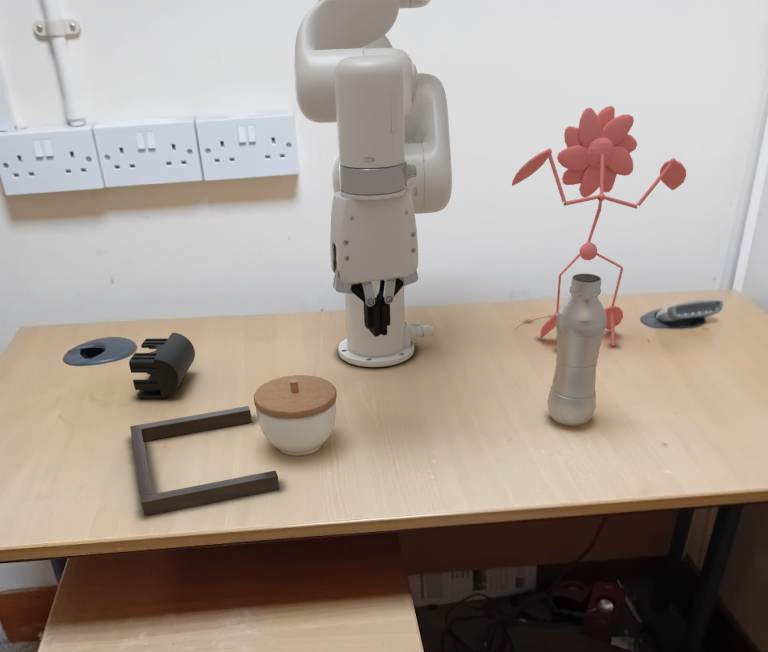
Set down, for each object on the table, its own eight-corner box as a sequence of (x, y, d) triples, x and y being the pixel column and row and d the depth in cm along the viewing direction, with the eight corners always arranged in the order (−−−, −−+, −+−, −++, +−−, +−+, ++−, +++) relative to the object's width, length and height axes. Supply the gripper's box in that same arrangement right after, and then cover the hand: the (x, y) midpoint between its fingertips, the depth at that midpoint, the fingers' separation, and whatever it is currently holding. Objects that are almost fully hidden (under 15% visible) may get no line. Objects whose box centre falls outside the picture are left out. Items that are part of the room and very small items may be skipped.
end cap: (182, 400, 118) (174, 358, 114) (136, 400, 119) (126, 358, 115) (199, 372, 126) (191, 331, 122) (155, 372, 127) (147, 332, 123)
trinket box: (262, 427, 111) (254, 365, 105) (338, 422, 111) (334, 361, 106) (258, 467, 102) (249, 402, 97) (341, 462, 103) (336, 397, 97)
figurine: (664, 344, 130) (709, 109, 110) (513, 357, 128) (530, 119, 107) (627, 310, 143) (662, 93, 123) (489, 322, 140) (500, 102, 120)
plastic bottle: (566, 435, 107) (583, 291, 95) (536, 415, 112) (549, 275, 100) (603, 424, 109) (625, 281, 97) (572, 404, 114) (589, 266, 102)
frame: (250, 418, 113) (248, 405, 112) (279, 489, 98) (277, 475, 97) (133, 438, 109) (129, 426, 108) (144, 516, 94) (140, 502, 93)
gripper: (421, 167, 95) (421, 314, 106) (301, 179, 92) (313, 330, 102) (445, 179, 89) (442, 334, 100) (317, 193, 86) (328, 351, 96)
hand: (377, 331), depth 101 cm, fingers closed
